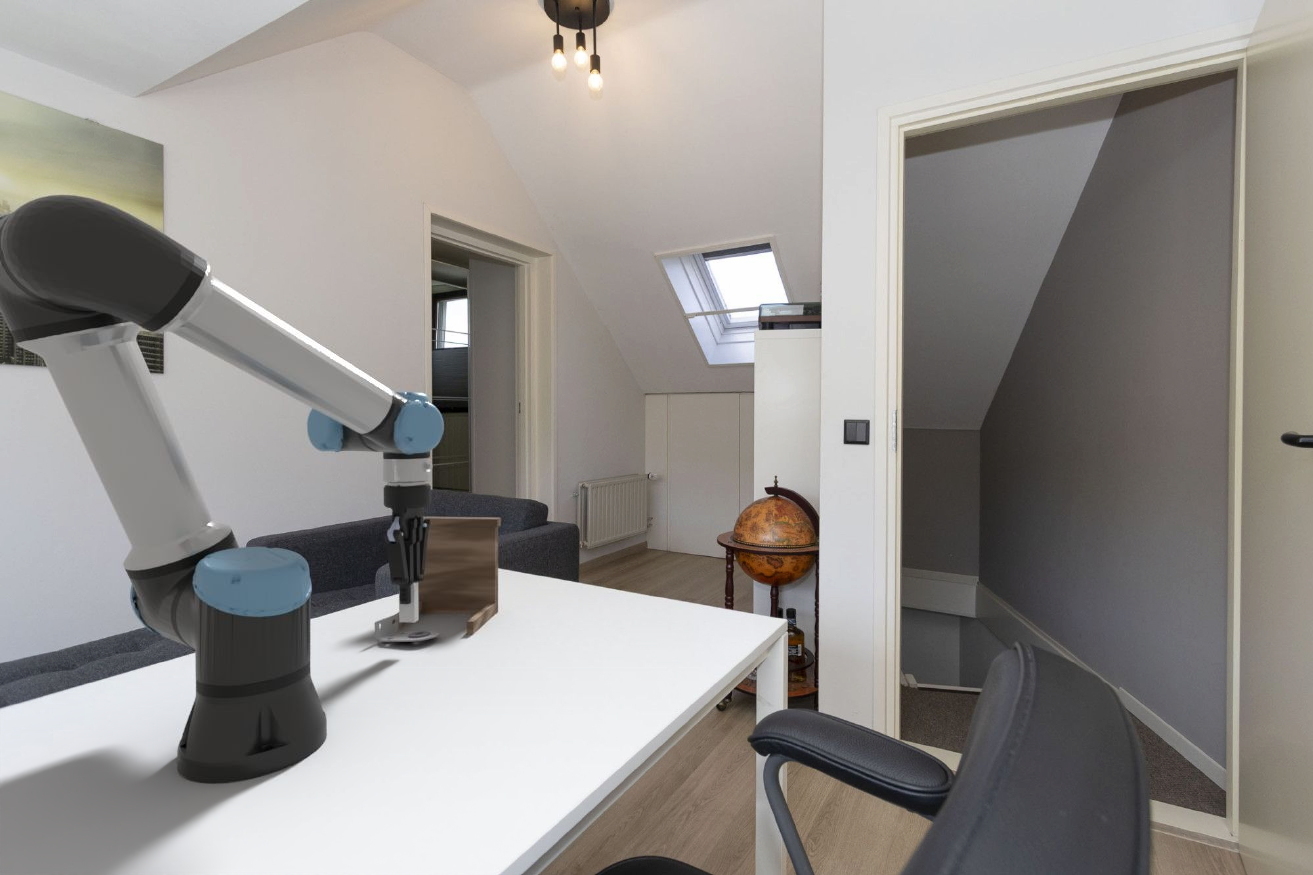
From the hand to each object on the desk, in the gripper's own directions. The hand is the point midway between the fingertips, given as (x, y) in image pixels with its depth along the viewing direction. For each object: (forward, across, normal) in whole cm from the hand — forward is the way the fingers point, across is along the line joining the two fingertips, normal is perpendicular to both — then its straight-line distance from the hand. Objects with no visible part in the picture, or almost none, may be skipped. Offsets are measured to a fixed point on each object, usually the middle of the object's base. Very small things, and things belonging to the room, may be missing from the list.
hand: (408, 620), depth 111 cm
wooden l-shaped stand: (+5, +14, 0) cm, 15 cm away
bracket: (+6, +2, 0) cm, 7 cm away
